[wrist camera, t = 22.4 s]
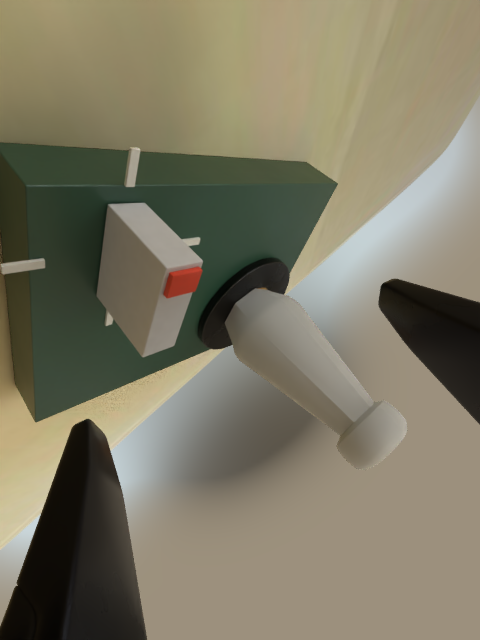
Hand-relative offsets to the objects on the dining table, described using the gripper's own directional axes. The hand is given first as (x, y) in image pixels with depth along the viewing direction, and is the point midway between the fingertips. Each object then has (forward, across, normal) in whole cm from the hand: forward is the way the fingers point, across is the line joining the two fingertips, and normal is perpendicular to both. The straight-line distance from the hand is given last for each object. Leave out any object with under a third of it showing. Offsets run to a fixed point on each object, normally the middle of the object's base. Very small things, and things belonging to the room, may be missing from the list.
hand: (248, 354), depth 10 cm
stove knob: (+8, +2, 0) cm, 8 cm away
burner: (+13, -4, +10) cm, 17 cm away
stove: (+13, 0, +5) cm, 14 cm away
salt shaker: (+12, -4, +10) cm, 16 cm away
